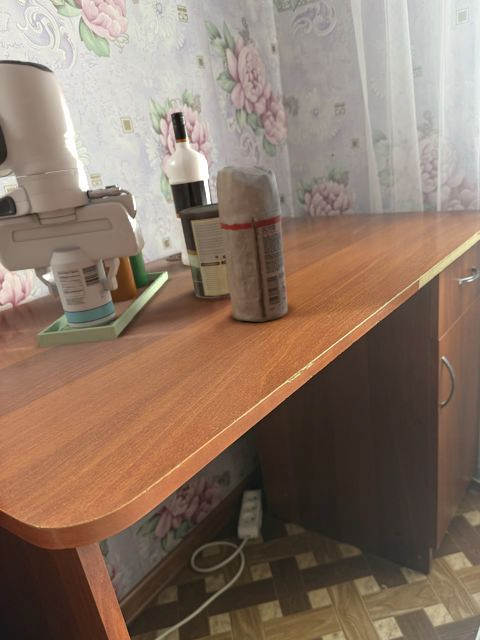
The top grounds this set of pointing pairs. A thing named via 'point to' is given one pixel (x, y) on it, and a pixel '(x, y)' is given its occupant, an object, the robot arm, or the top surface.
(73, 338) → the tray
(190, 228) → the coffee can
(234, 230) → the spray can
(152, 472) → the top surface
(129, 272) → the amber bottle
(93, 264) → the beverage can
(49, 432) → the top surface
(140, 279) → the green bottle
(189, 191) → the vodka
